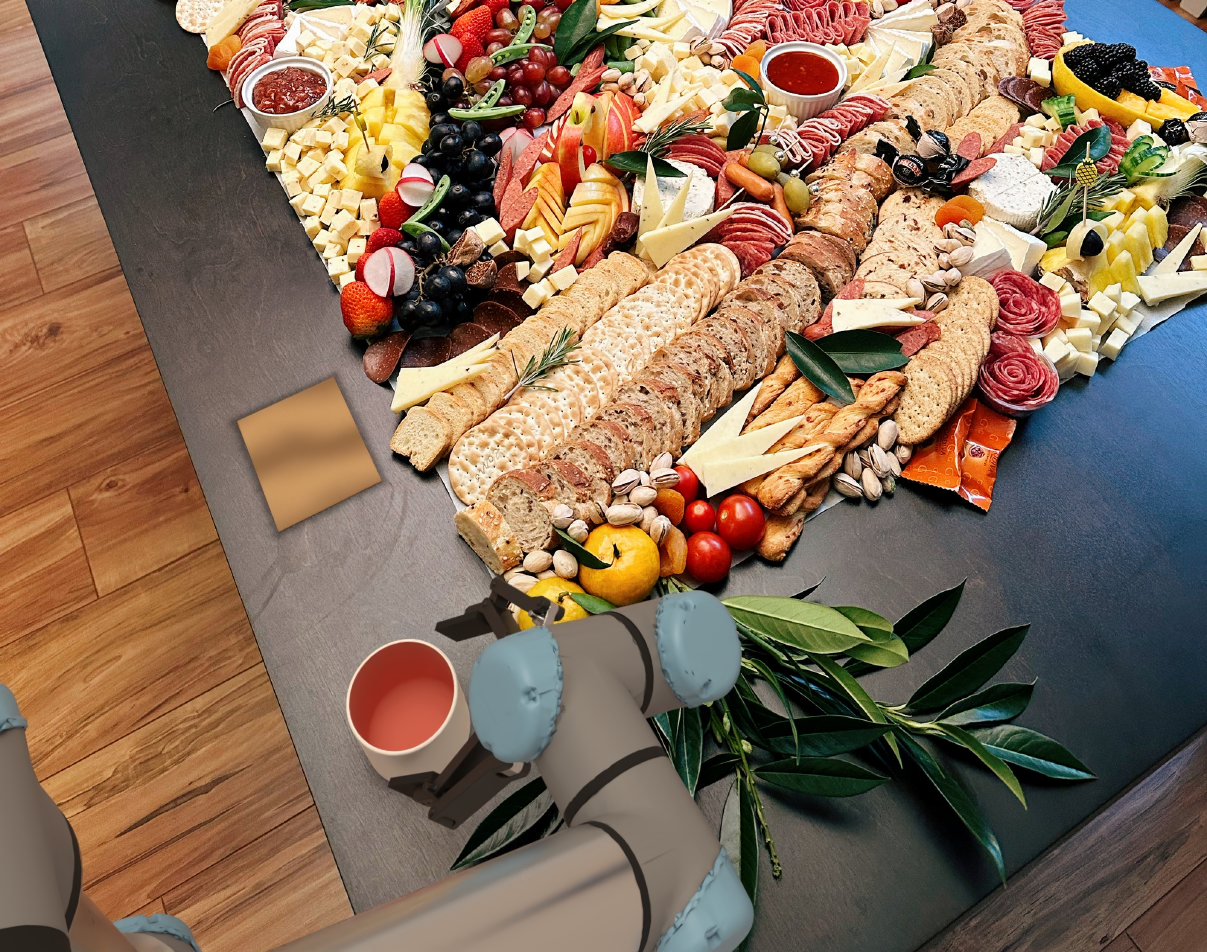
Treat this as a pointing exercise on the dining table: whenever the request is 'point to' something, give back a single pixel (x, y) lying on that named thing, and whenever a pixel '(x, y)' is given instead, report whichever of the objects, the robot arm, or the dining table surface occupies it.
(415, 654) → the cup
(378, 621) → the dining table surface
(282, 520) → the cork mat
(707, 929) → the robot arm
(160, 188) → the dining table surface
